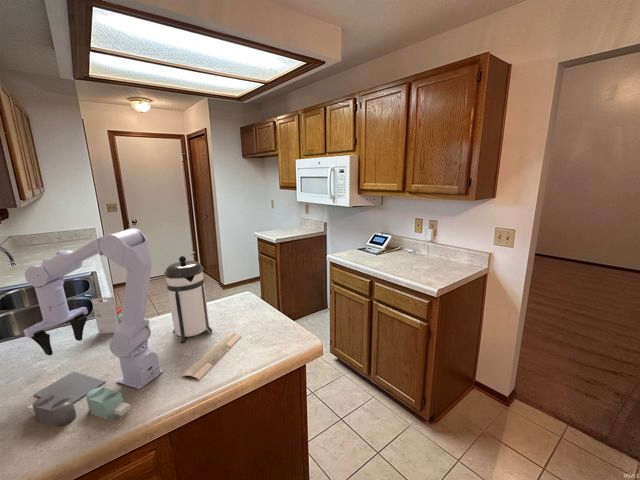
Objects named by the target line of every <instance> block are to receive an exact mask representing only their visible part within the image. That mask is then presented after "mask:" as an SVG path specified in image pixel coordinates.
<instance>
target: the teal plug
mask: <svg viewBox="0 0 640 480" xmlns="http://www.w3.org/2000/svg"><path fill="white" fill-rule="evenodd" d="M85 399H86V403H87V407H88V410H89V413H90V414H92V415H94V416H98V417H100V418H102V419H105V420H108V421H113V420H115V419H118V418H119V417H122V416H123V415H125V414H126V413H127V412H128V411H130V410H131V404H130V403H127V402H124V399H123V395H122V393H121V392H119V391H116V390H113V389H111V388H106V387H104V386H99V387H98V388H95V389H93V390H91V391H89V392H88V393H87V395H86V396H85Z"/></svg>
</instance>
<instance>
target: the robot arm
mask: <svg viewBox="0 0 640 480" xmlns="http://www.w3.org/2000/svg"><path fill="white" fill-rule="evenodd" d="M148 240H149V239H148V237H147V236H146V235H145V234H144V233H143V232H142V231H141V230H140V229H138V228H135V227H130V228H126V229H125V230H122V231H118V232H115V233H109V234H105V235H103V236H101V237H97V238H95V239H93V240H91V241H89V242H87V243H86V244H85V245H82V246H81V247H79V248H77V249H76V250H71V249H68V250H67V249H66V250H64V249H62V250H58V251H56V252H55V254H56V255H54V256H52V257H50V258H49V257H48V258H45V259H42V263H39V264H36V265H30V266H29V267H28V268H26V270H25V272H24V279H25V280H26V282H27V283H28V284H29V285H30V286H33V288H34V291H35V294H36V299H37V301H38V305H39V309H40V313H41V316H42V321H39V322H37V323H35V324H34V325H32V326H30V327H27V328H25V329H23V334H24V337H25V338H29V339H32V340H33V341H35V343H37V344H38V346H39V347H40V348H41V349H42V351H43V352H44V354H45V355H47V356H49V357H50V356H53V354H54V353H53V349H52V346H51V339H50V338H51V334H50V333H47V332H46V331H47V330H50V329H53V328H54V327H56V326H59V325H61V324H64V323H66V322H69V324H70V326H71V329H72V333H73V337H74V339H75V340H76V341H78V342H81V341H82V340H83V334H84V328H85V325H86V322H87V321H88V316H87V314H89V311H88V307H86V306H85V307H84V306H81V307H79V308H76V309H72V310H70V309H69V305H68V299H67V298H66V297H67V296H66V293H65V289H64V284H65V280H64V278H65V277H66V275H69V274H71V273H73V272H75V271H77V270H78V269H80V268H82V265H83V264H84V263H83V262H84V261H86V260H87V259H90V258H93V257H94V256H96V255H99V256H101V257H102V256H105V257H106V258H107V259H109V260H110V261H112V262H113V263H115V264H117V265H118V266H120V267H121V268H123V269H125V270H126V278H125V288H124V296H123V303H122V320H121V323H120V324H119V326H118V327H117V329H116V331H115V332H114V333H113V337H112V339H111V340H110V341H109V345H108V347H109V350H110V352H111V353H112V354H113V355H114V356H115V357H116V358H118V359H119V363H120V368H121V372H122V376H121V377H119V378H117V379H116V383H119V384H121V385H125V386H128V387H131V388H133V389H138V390H140V389H142V388H143V387H145V386H146V385H147V384H149V383H150V382H151V381H153V380H154V379H156V378H157V377H158V376H159V375H160V374H162V373H163V372H164V371H163V370H162V369H160V365H159V358H158V355H157V353H156V352H154V351H152V350H151V349H150V348H149V346H148V344H149V338H150V336H151V334H152V331H151V328H150V320H149V319H148V318H146V317H145V314H146V309H147V303H148V293H149V286H150V281H151V273H152V272H151V271H152V266H153V265H152V264H153V263H152V259H151V256H150V253H149V250H148V243H149V241H148Z"/></svg>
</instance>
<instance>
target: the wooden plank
mask: <svg viewBox="0 0 640 480" xmlns="http://www.w3.org/2000/svg"><path fill="white" fill-rule="evenodd" d="M241 338H242V335H241V334H237V333H233V332H232V333H226V334H225V335H224V336H222V337H221V339H219V341H218V342H216V343H215V345H213V346H212V347H211V348H210V349H209V350H208V351H207V352H206V353H204V354H203V356H201V358H199V359H198V360H197V361H196V362H195V363H194V364H193V365H192V366H191V367H189V369H187V370H186V371H185V373H183V374H182V375H181V377H182V378H183V377H184V378H185V377H186V376H190V377H194V378H196V379H198V381H201V380H202V378H203V377H204V376H205V375H206V374H207V373H208V372H209V371H210V370H211V369H212V368H213V367H214V366H215V365H216V364H217V363H218V362H219V361H220V360H221V359H222V357H223V356H224V355H225V354H226V353H227V352H228V351H229V350H230V349H231V348H232V347H233V346H234V345H235V344H236V343H237V342H238V341H239V340H240V339H241Z"/></svg>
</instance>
